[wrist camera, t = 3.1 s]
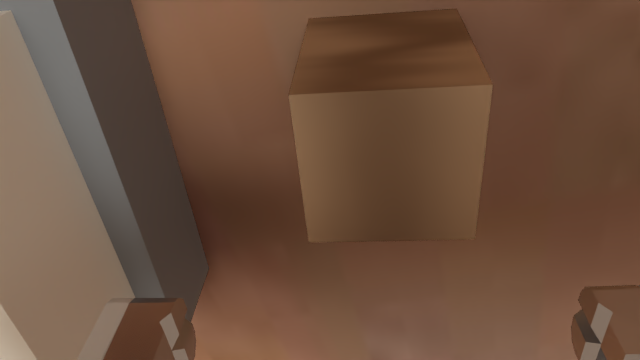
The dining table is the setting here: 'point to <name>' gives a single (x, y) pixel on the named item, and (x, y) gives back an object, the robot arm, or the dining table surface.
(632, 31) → the dining table surface
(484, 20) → the dining table surface
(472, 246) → the dining table surface
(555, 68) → the dining table surface
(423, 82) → the walnut block
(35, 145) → the tower top
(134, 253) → the tower base
